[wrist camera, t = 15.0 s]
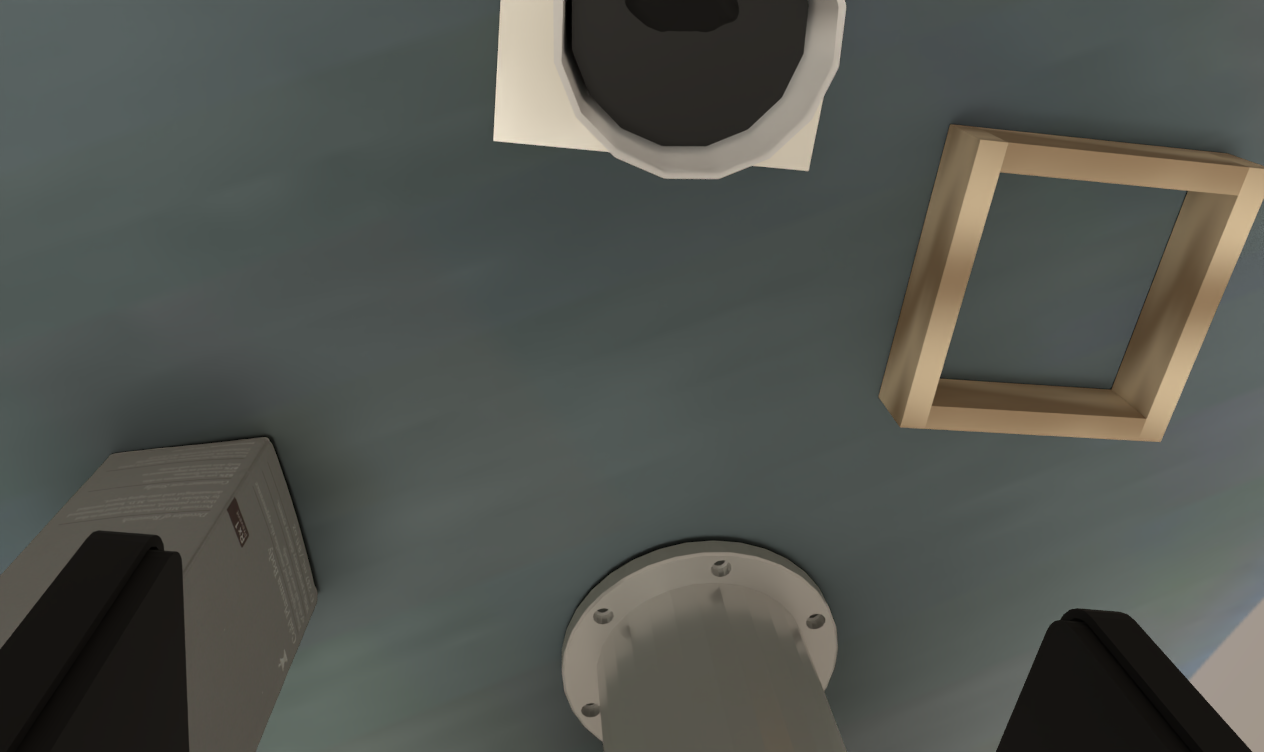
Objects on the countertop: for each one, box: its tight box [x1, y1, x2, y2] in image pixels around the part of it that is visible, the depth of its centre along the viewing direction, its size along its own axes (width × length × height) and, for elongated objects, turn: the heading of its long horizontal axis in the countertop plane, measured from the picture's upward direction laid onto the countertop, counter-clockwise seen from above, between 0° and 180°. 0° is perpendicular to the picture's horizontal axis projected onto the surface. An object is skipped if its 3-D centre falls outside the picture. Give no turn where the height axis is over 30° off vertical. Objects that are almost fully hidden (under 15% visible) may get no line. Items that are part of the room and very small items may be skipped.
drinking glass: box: [553, 0, 846, 179], centre depth 25 cm, size 7×7×10 cm
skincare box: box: [0, 437, 318, 752], centre depth 30 cm, size 8×7×16 cm
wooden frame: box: [879, 124, 1264, 442], centre depth 35 cm, size 11×11×2 cm
